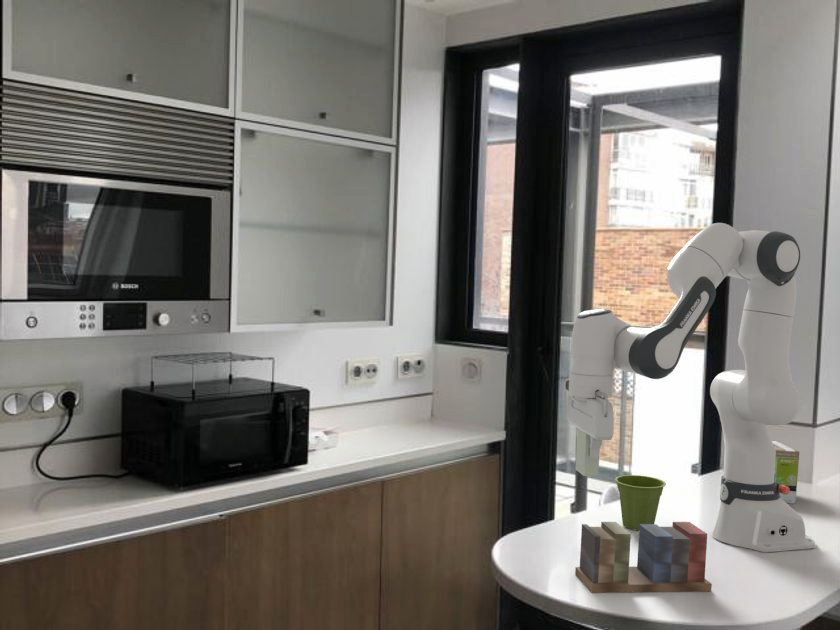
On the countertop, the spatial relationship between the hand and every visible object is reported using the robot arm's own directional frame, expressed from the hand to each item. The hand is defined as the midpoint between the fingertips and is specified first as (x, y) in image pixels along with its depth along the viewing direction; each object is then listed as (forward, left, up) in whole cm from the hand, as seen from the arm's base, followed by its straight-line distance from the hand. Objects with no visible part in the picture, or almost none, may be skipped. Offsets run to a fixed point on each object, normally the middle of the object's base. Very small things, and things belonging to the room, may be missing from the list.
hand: (587, 453), depth 185 cm
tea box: (-72, -53, -23) cm, 92 cm away
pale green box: (0, 0, -4) cm, 4 cm away
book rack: (-8, +13, -23) cm, 27 cm away
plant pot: (-22, -24, -23) cm, 40 cm away
